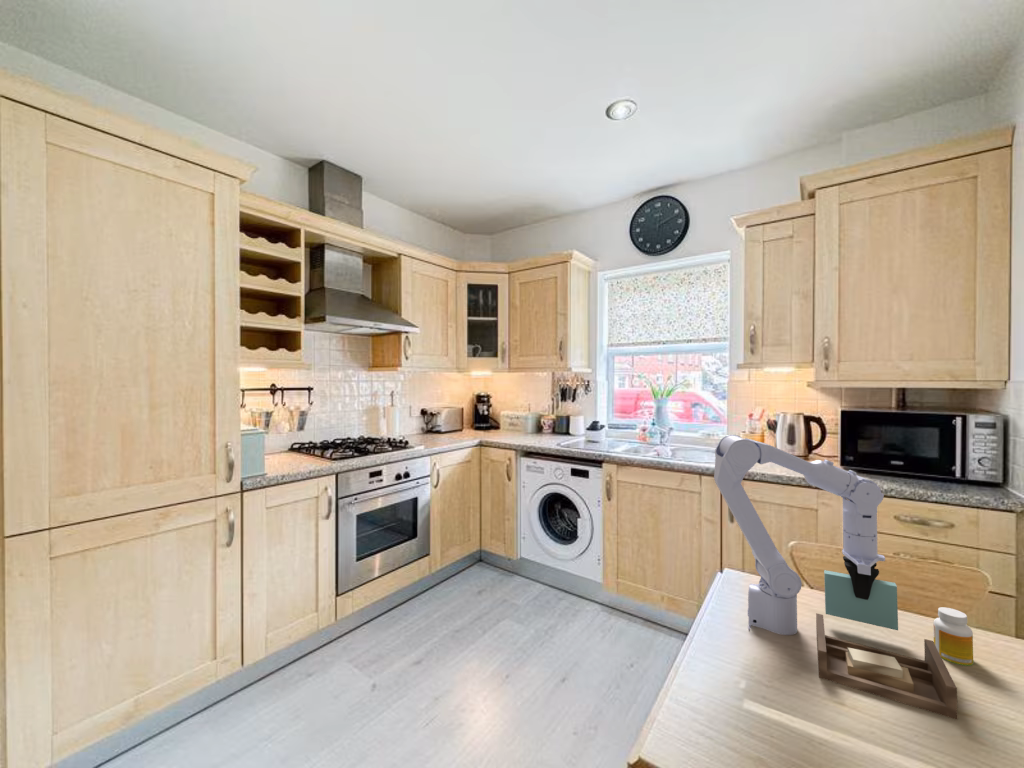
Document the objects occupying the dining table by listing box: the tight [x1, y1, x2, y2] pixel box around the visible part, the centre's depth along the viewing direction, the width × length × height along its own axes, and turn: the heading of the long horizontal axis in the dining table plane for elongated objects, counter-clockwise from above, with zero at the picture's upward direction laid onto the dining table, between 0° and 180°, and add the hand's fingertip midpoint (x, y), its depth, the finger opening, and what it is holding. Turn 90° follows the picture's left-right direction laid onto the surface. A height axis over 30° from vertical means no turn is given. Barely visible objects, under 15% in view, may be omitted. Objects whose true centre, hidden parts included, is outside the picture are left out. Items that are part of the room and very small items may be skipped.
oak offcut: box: [846, 652, 914, 693], centre depth 78 cm, size 9×5×2 cm, turn 56°
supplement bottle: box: [933, 606, 974, 667], centre depth 83 cm, size 5×5×10 cm
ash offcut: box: [848, 648, 903, 679], centre depth 79 cm, size 7×4×2 cm, turn 64°
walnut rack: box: [815, 613, 958, 721], centre depth 79 cm, size 18×15×6 cm
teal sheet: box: [823, 569, 899, 631], centre depth 91 cm, size 12×2×9 cm, turn 56°
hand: (860, 595), depth 91 cm, fingers closed on teal sheet, 2 cm apart
